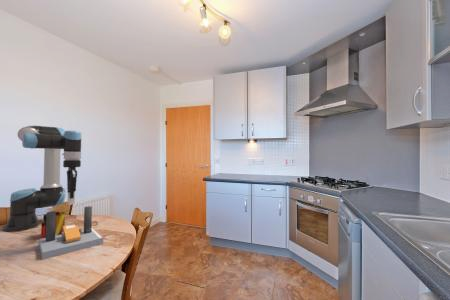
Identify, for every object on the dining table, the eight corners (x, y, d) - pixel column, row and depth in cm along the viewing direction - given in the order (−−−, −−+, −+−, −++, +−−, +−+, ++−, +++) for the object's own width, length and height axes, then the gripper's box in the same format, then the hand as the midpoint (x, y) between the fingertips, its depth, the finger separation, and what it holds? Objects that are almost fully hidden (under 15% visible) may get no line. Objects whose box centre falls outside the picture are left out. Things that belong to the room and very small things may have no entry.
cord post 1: (45, 240, 105) (46, 212, 106) (54, 238, 108) (55, 210, 108) (46, 242, 103) (47, 213, 103) (55, 240, 105) (56, 212, 106)
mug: (40, 242, 110) (41, 219, 110) (43, 234, 121) (44, 213, 121) (63, 238, 116) (64, 216, 116) (64, 230, 127) (65, 210, 127)
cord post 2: (82, 232, 117) (83, 207, 117) (90, 230, 119) (91, 205, 120) (84, 234, 114) (85, 208, 115) (92, 232, 117) (92, 207, 117)
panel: (38, 245, 106) (39, 231, 107) (92, 233, 123) (93, 221, 124) (42, 259, 92) (43, 243, 93) (103, 243, 109) (103, 230, 110)
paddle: (62, 229, 110) (62, 226, 110) (76, 226, 114) (76, 223, 114) (65, 242, 102) (66, 239, 102) (81, 239, 106) (81, 236, 106)
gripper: (61, 159, 114) (60, 203, 113) (65, 160, 105) (64, 207, 104) (78, 159, 119) (76, 201, 119) (83, 159, 110) (82, 205, 109)
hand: (71, 204), depth 111 cm, fingers closed
